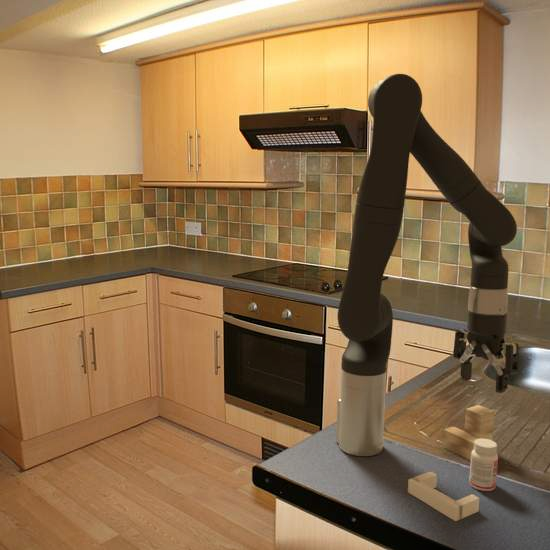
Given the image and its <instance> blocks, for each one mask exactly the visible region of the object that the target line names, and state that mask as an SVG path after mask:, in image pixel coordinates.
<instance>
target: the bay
mask: <svg viewBox="0 0 550 550" xmlns="http://www.w3.org/2000/svg"><path fill="white" fill-rule="evenodd" d="M437 479H438V475H437V474H436V473H435V472H433V471H428V472H425V473H422V474H420V475H417V476H414V477H411V478H409V479H408V483H407V485H408V486H407V493H408V494H409V495H412V496H413V497H416V498H417V499H418V500H420V501H421V502H423V503H425V504H426V505H428V506H430V507H431V508H433V509H435V510H436V511H438V512H439V513H441V514H442V515H445V516H446V517H448V518H449V519H451V520H452V521H454V522H458V521H460V520H462V519H464V518H467V517H469V516H471V515H474V514H476V513H478V512H479V506H480V497H478V496H476V495H475V494H472V493H471V494H470V495H466V496H464V497H462V498H459V499H458V500H455V499H453V498H452V497H450V496H448V495H445V494H444V493H442V492H440V491H439V490H437V489H435V488H437Z"/></svg>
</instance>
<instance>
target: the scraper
mask: <svg viewBox="0 0 550 550" xmlns="http://www.w3.org/2000/svg"><path fill="white" fill-rule="evenodd" d="M494 422H495V410H493V409H490V408H487V407H486V406H482V405H481V404H477V405H474V406H471V407H467V408H465V418H464V430H463V429H460V428H458V427H456V426H449V427H446V428H444V429H443V430H442V431H443V433H442V448H443V449H445V448H446V449H445V450H447V449H448V450H447V451H449V450H450V451H449V452H451V451H452V453H453V454H456V455H458V456H459V457H462V458H464V459H465V460H467V461H470V462H471V452H472V450H474V441H475V440H476V439H489V440H492V441H493V437H494V435H493V434H494V425H495V424H494Z"/></svg>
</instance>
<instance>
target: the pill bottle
mask: <svg viewBox="0 0 550 550" xmlns="http://www.w3.org/2000/svg"><path fill="white" fill-rule="evenodd" d="M497 451H498V444H497V442H495V441H493V439H492V440H489V439H476V440H475V441H474V450H472V452H471V461H470V463H469V465H470V467H469V477H468V483H469V485H470V486H471V487H472V488H473V489H475V490H479V491H483V492H490V491H493V490H495V489H496V488H497V487H496V486H497V475H498V465H499V463H498V462H499V455H498V454H497Z"/></svg>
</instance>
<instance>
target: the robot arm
mask: <svg viewBox="0 0 550 550" xmlns="http://www.w3.org/2000/svg"><path fill="white" fill-rule="evenodd" d="M422 105H423V93H422V89H421V87H420V85H419V83H418V82H417V81H416V79H414V78H413V77H412V76H411V75H408V74H405V73H395V74H391V75H390V74H389V75H388V76H386V77H384V78H381V80H379V81H378V82H376V83H375V84H374V85H373V86H372V88H371V90H370V92H369V94H368V99H367V107H368V111H369V113H370V115H371V117H372V118H373V119H372V121H373V122H372V137H371V146H370V152H369V155H368V159H367V162H366V165H365V167H364V170H363V174H362V177H361V180H360V183H359V188H358V191H357V196H356V200H355V201H356V203H355V208H354V216H353V217H354V218H353V224H352V234H351V239H350V248H349V258H348V264H347V265H348V266H347V272H346V276H345V281H344V284H343V288H342V293H341V296H340V300H339V301H340V302H339V304H338V310H337V324H338V327H339V331H340V332H341V333H342V334H343V336H344V337H345V338H347V340H348V343H347V345H346V347H345V349H344V351H343V353H342V355H341V364H340V365H341V366H340V367H341V371H340V398H339V399H338V400H337V406H336V409H337V410H336V438H335V441H336V443H337V444H338V447H339V448H340V450H341V451H343V452H344V453H346V454H348V455H351V456H357V457H371V456H372V457H373V456H377V455H378V454H380V453H381V452H382V451H383V448H384V432H385V431H384V430H385V411H386V410H385V407H386V406H385V405H386V386H387V385H386V384H387V365H388V360H389V357H390V354H391V350H392V349H391V347H392V339H393V324H394V319H393V317H394V316H393V315H394V313H393V307H392V305H391V303H390V300H389V299H388V298H387V297H386V295H384V294H383V293H381V291H382V282H383V278H384V274H385V272H386V268H387V266H388V263H389V261H390V258H391V256H392V254H393V252H394V249H395V247H396V244H397V242H398V239H399V236H400V233H401V232H400V231H401V228H402V222H403V216H404V210H405V209H404V208H405V203H406V192H407V185H408V177H409V175H408V174H409V162H410V155H411V156H412V157H413V158H414V160H416V162H417V163H418V164H419V165H420V167H421V168H422V169H423V171H424V172H425V174H426V175H428V178H430V180H431V182H432V183H433V184H434V185H435V187H436V188H437V189H438V190H439V192H440V193H441V194H442V196H444V198H445V199H446V200H447V202H448V203H449V204H450V206H451V207H452V208H453V209H454V210H455V211H457V212H458V213H460V214H462V215H464V216H465V217H466V219H467V220H468V221H469V224H468V227H467V238H468V239H467V240H468V241H467V242H468V248H469V256H470V260H471V261H470V262H471V270H470V287H469V288H470V289H469V293H468V298H467V299H468V301H467V316H466V317H467V321H466V323H467V324H466V329H460V330H456V331H455V332H454V333H455V335H454V341H453V343H454V344H453V353H452V357H454V359H457V360H458V361H459V362H460V377H461V380H462V381H463V382H467V381H470V380H471V379H472V373H473V372H472V371H473V362H472V361H473V359H475V358H476V357H477V358H482V359H483V360H487V361H489V362H490V364H491V366H493V367H494V369H495V370H496V373H497V374H496V375H495V376H496V377H495V378H496V380H495V381H496V382H495V392H496V393H498V394H502V393H505V392H506V391H507V389H508V385H509V376H510V375H511V376H512V375H514V374H517V373H519V367H520V366H519V364H520V362H519V360H520V358H519V353H520V351H519V350H520V349H519V348H520V346H519V344H518V343H516V342H514V343H509V342H506V341H505V335H506V332H507V326H508V325H507V322H508V306H509V295H508V287H509V286H508V285H509V263H508V261H507V260H506V259H505V258H504V256H503V249H502V247H504V246H505V247H506V246H507V245H509V244H510V243H512V242H513V241H514V239H515V237H516V235H517V230H518V225H517V222H516V219H515V217H514V215H513V214H512V213H511V211H510V210H509V209H508V208H507V207H506V206H505V205H504V204H503V203H502V202H501V201H500V200H499V199H498V198H497V197H496V196H495V195H494V194H493V193H491V192H490V191H489V190H488V189H487V188H486V187H485V186H484V184H483V183H482V181H481V180H480V178H479V177H478V176H477V175H476V173H475V172H474V171H473V170H472V168H471V167H470V166H469V165H468V163H467V162H466V161H465V160H464V158H462V157H461V155H460V154H458V152H456V151H455V150H454V148H452V147H451V145H449V144H448V143H447V142H446V141H445V140H444V139H443V138H442V137H441V136H440V135H439V134H438V132H437V131H436V130H435V129H434V128H433V127H432V126H431V125H430V123H429V122H428V120H427V119H426V117H425V115H424V114H423V111H422ZM467 343H468V345H469V346H468V347H467ZM503 350H504V351H503Z"/></svg>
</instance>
